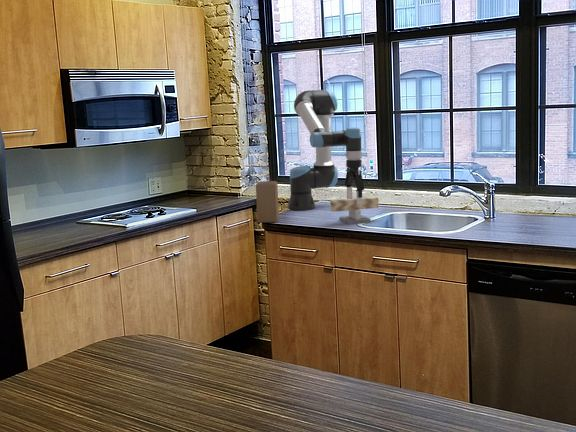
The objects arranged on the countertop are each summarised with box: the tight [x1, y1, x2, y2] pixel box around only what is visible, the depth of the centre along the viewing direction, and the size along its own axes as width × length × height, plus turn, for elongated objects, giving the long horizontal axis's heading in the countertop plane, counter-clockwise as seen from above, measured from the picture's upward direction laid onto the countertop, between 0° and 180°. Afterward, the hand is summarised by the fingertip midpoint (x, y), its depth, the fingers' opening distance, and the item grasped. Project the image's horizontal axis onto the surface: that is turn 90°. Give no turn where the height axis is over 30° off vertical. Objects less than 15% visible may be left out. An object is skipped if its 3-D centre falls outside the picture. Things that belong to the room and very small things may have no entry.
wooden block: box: [255, 180, 280, 224], centre depth 342 cm, size 10×10×20 cm
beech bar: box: [329, 196, 379, 213], centre depth 335 cm, size 24×4×5 cm, turn 106°
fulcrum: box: [339, 209, 372, 225], centre depth 336 cm, size 12×12×6 cm
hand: (354, 201), depth 334 cm, fingers open, 13 cm apart
